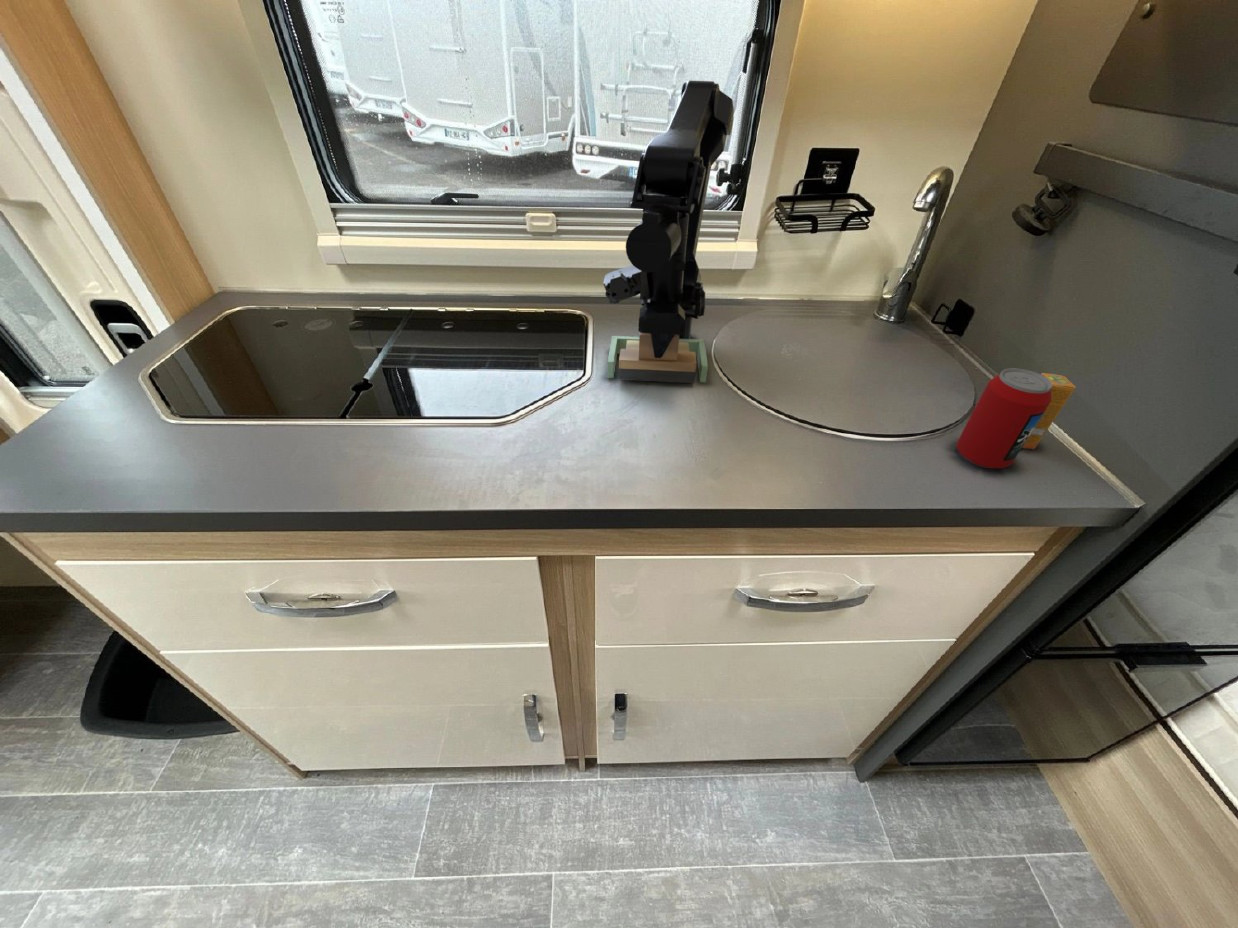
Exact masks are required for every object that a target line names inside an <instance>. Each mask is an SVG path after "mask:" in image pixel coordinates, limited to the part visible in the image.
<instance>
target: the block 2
mask: <svg viewBox="0 0 1238 928" xmlns="http://www.w3.org/2000/svg"><path fill="white" fill-rule="evenodd" d="M678 351H687V352H689V343H687V342H679V346H678Z"/></svg>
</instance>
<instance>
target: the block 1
mask: <svg viewBox="0 0 1238 928" xmlns="http://www.w3.org/2000/svg"><path fill="white" fill-rule="evenodd" d="M626 349H639V341H637V340H627V344H626Z"/></svg>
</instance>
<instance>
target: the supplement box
mask: <svg viewBox="0 0 1238 928" xmlns="http://www.w3.org/2000/svg"><path fill="white" fill-rule="evenodd" d="M1040 375H1042V376H1044V377H1046V378H1047V379H1048V380H1049V381H1050V382H1051V383H1052V388H1051V396H1052V400H1051V402H1050V404H1049V405H1048V407H1047V409H1046V410H1045V412H1044V414H1043V415H1042V417H1041V418H1040V420H1039V422H1038V423H1037V425H1036V427H1035V428H1034V430H1033V431H1032V433H1031V435H1030V436H1029V438H1028V439H1027V441H1026V442H1025V444H1024V445H1023V447H1022V449H1026V450H1027V449H1029V450H1035V449H1036V447H1037V446H1038V445H1039V443H1040V441H1041V440H1042V438H1043V437H1044V435H1045V434H1046V432H1047V431H1048V430H1049V428H1050V427H1051V425H1052V424H1053V422H1054V421H1055V419H1056V418H1057V417H1058V415H1059V414H1060V412H1061V411H1062V409H1063V407H1064V406H1065V405H1066V403H1067V402H1068V400H1069V399H1070V397H1071V396H1072V394H1073V392H1074V391H1075V390H1076V389H1077V387H1076V385H1074V383H1072V382H1071V381H1070V380H1069V379H1068V378H1067V377H1066V376H1065V375H1061V374H1055V373H1047V372H1041V373H1040Z"/></svg>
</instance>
